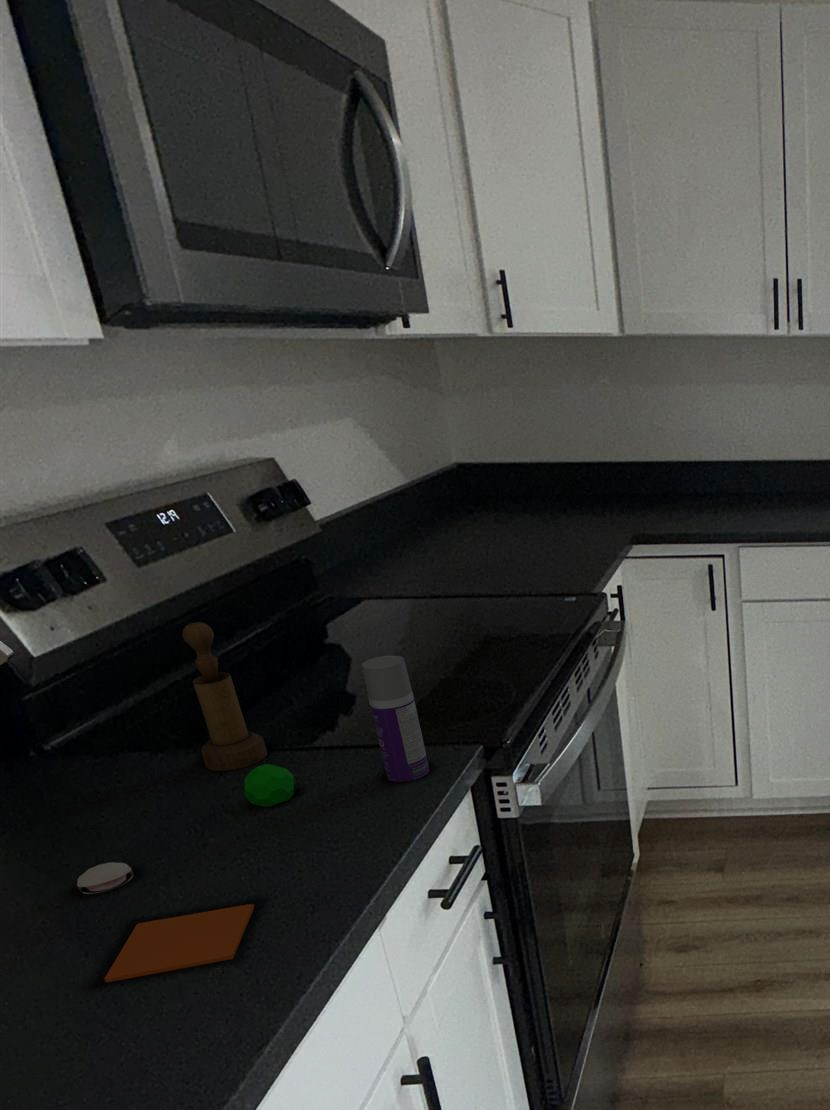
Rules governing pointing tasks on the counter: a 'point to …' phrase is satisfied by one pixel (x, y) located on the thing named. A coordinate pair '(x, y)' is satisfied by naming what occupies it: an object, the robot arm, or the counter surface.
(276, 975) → the counter surface
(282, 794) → the polyhedron
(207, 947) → the orange cloth
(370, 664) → the container
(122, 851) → the counter surface
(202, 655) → the mortar and pestle
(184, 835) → the counter surface
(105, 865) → the macaroon
